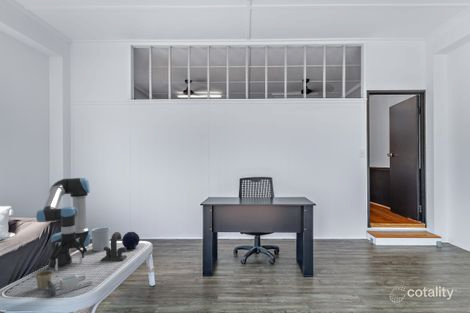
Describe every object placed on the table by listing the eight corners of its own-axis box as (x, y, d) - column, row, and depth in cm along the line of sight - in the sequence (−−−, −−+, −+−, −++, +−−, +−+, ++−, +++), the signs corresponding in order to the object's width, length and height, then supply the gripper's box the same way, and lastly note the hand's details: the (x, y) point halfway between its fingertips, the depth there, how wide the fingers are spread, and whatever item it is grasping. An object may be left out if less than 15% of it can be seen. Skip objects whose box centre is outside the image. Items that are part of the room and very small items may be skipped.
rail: (47, 289, 177) (47, 280, 177) (85, 278, 191) (84, 271, 191) (53, 296, 167) (53, 287, 167) (91, 284, 182) (91, 276, 182)
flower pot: (50, 282, 186) (49, 269, 186) (55, 286, 180) (55, 272, 180) (32, 288, 179) (32, 274, 179) (38, 292, 173) (37, 277, 173)
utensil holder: (101, 245, 265) (101, 226, 265) (114, 247, 260) (113, 227, 260) (87, 250, 252) (87, 230, 252) (100, 252, 246) (100, 231, 246)
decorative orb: (135, 245, 246) (138, 228, 255) (117, 245, 246) (121, 229, 255) (140, 251, 257) (142, 235, 266) (123, 251, 257) (126, 235, 266)
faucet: (131, 254, 240) (130, 229, 240) (123, 260, 224) (122, 234, 224) (109, 254, 240) (109, 230, 240) (100, 261, 224) (99, 235, 224)
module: (59, 288, 178) (59, 278, 178) (75, 283, 184) (75, 273, 184) (62, 291, 173) (62, 280, 173) (78, 286, 180) (78, 276, 180)
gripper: (46, 238, 168) (46, 274, 168) (91, 229, 185) (92, 262, 185) (43, 235, 173) (43, 270, 173) (87, 227, 190) (88, 259, 191)
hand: (69, 266), depth 179 cm, fingers open, 13 cm apart
